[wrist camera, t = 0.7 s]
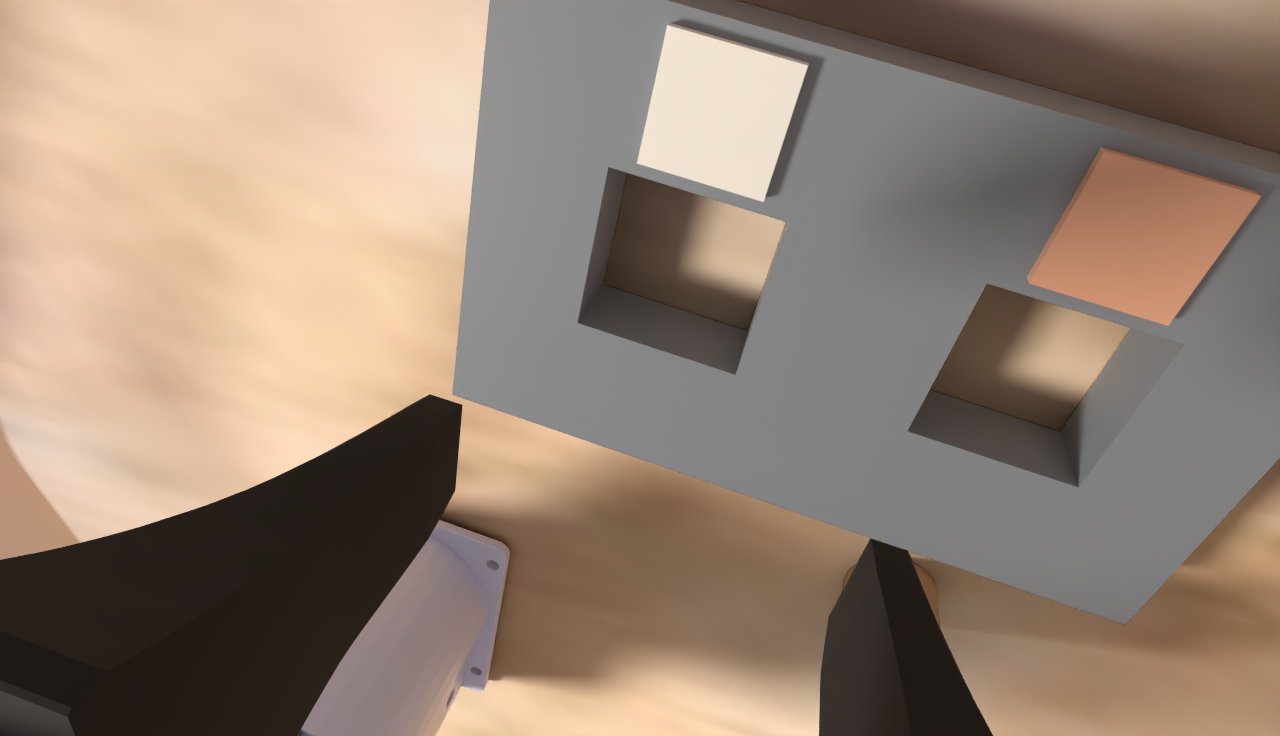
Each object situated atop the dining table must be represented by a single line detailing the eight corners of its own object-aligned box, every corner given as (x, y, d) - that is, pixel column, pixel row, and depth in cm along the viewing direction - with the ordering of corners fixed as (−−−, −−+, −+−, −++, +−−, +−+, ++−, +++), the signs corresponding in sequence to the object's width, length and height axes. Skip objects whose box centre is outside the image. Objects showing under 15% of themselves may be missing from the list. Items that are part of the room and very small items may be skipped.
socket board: (1103, 561, 23) (1128, 633, 21) (485, 354, 25) (448, 400, 23) (1414, 191, 16) (1497, 240, 14) (535, -57, 18) (488, -48, 16)
